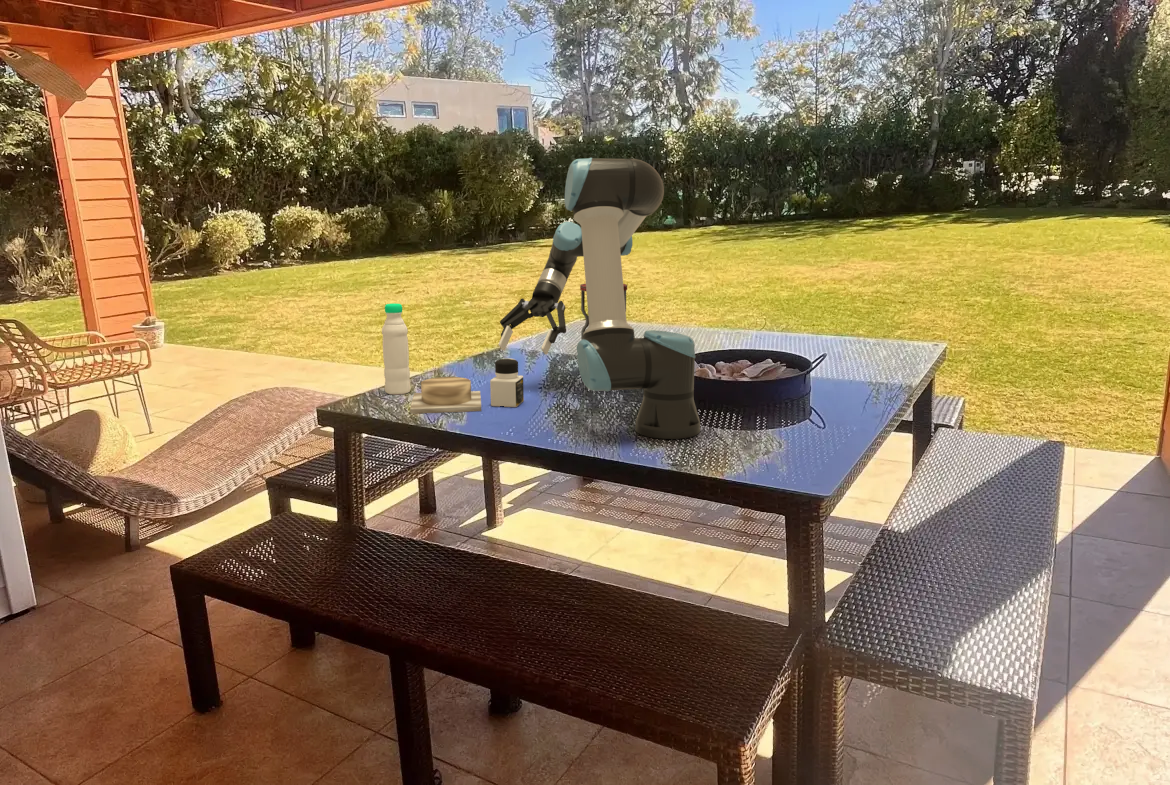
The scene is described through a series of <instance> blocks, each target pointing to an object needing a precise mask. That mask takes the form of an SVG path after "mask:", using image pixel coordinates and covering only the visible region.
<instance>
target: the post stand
mask: <svg viewBox="0 0 1170 785" xmlns="http://www.w3.org/2000/svg"><path fill="white" fill-rule="evenodd" d="M471 381H472V380H470V379H469V378H466V377H458V376H439V377H432V378H428V379H424V380H422V381H421V382H420V387H421V388H420V390H421V391H420V392H414V393H413V396H412V401H411V404H410V406H409V414H412V415H413V414H433V413H434V414H436V413H437V414H440V413H441V414H442V413H465V412H468V413H469V412H482V397H481V390H473V391H472V382H471Z"/></svg>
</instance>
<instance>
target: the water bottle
mask: <svg viewBox="0 0 1170 785" xmlns="http://www.w3.org/2000/svg"><path fill="white" fill-rule="evenodd" d="M384 313H385V316H386V319H385V320H384V324H383V325H382V328H381V335H382V358H383V365H384V368H383V373H384V374H383V377H384V392H385V393H386V394H388V395H392V396H393V395H395V396H396V395H405V394H409V393H410V391H411V389H412V388H411V380H410V378H411V377H410V375H411V372H410V367H409V365H410V362H409V360H410V354H409V352H410V351H409V340H408V332H409V330H408V327H407V325H406V323H405V321H404V319H403V317H402V314H403V305H402V303H397V302H396V303H395V302H394V303H387V304H384Z"/></svg>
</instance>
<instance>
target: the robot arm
mask: <svg viewBox="0 0 1170 785" xmlns="http://www.w3.org/2000/svg"><path fill="white" fill-rule="evenodd" d="M664 195H665V187H664V182H663V180H662V177H661V176H660V174H659V172H658V171H657V170H656V169H655V168H654V167H653V166H652V165H651V164H650V163H647V162H646V161H644V160H641V159H638V158H595V157H594V158H593V157H588V158H577V159H573V161H572V162H570V164H569V167H568V171H567V174H566V181H565V188H564V205H565V209H566V210H567V211H570V212H572V211H573V213H572V214H573V220H574V221H575V222H576V223H574V222H572V221H565V222H562V223H561V224H559V225H558V227H557V228H556V230H555V233H554V234H553V237H552V244H551V248H550V251H549V255H548V258H547V261H546V263H545V266H544V268H543V270H542V272H541V274H540V276H539V279H538V280H537V284H536V285H535V287H534V289H533V292H532V295H531V299H529V300H525V298H524V297H523V298H522V297H521V298H519V301H518V302H517V304H516V305H515V306H514V307H513V308H512V309H511V310H510V311H508V313H507V314H505V315H504V317H502V318H501V320H500V321H499V324H500V325H501V326H502V331H501V333H500V337H501V338H500V340H499V342H498V344H497V345H498V347H499V348H500V349H501V351H505V350H506V348H507V347H508V344H509V341H510V339H511V337H512V336H513V333H514V331H513V329H515V328H516V327H518V326H519V325H521V324H522V323H524V322H525V321H526V320H528V319H532V318H533V317H534V318H535V317H536V318H538V317H540V318H545V317H546V318H547V319H548V321H549V324H550V326H551V328H549V329H548V332H547V334H546V336H545V338H544V341H543V343H542V345H541V348H540V349H541V351H542V352H543V354H544V355H548V354H549V351H550V349H551V346H552V345H553V344H554V343H556V341H557V338H558V336H559V334H561V333H562V334H566V333H567V325H566V318H565V311H566V306H565V303H564V302H563V301H562V300H560V298H561V296H562V293H563V291H564V289H565V287H566V284H567V282H568V280H569V277H570V275H571V272H572V271H573V268H574V266H575V264H576V263H577V260H578V257H580V258H581V257H583V265H584V279H585V284H586V291H585V292H586V302H587V303H586V304H587V315H588V317H589V326H588V327H587V328H586V330H585V332H584V333H583V337H584V339H583V340H579V341H578V343H577V346H576V358H577V365H578V370H579V374H580V378H581V380H582V382H583V384H584V385H585V387H586V388H587V389H589V390H590V391H593V392H594V391H595V392H599V391H600V392H601V391H602V392H610V391H623V390H643V392H642V393H643V394H642V395H643V398H642V401H641V404H640V407H639V409H638V413H637V416H636V419H635V432H636V433H638V434H639V435H642V436H644V437H649V438H654V439H660V440H661V439H662V440H678V439H679V440H680V439H687V438H692V437H695V436H697V435H699V434H700V432H701V421H700V416H699V414H698V409H697V407H696V403H695V400H694V392H695V391H694V390H695V388H694V387H695V367H696V366H695V364H696V362H695V361H696V350H695V340H693V338H692V337H691V336H689V335H687V334H682V333H677V332H671V331H665V330H664V331H663V330H646V331H644V334H643V336H642V337H635V330H634V329H635V328H634V327H632V326H631V325H630V324H629V323H628V322H627V313H626V312H627V309H626V310H625V299H624V287H623V284H624V278H623V277H624V276H623V266H622V256H628V255H629V254H630V253H631V252H632V248H633V235H634V234H635V232H636V231H637V229H638V228H639V227H640V226H641V224H642V223H643V222H644V220H645V218H646V217H647V216H651V215H652V214H654V213H655V212H656V211H657V210H658V208H659V207H660V206H661V205H662V202H663V199H664ZM577 223H578V224H577ZM554 310H556V311H557V320H558V325H557V323H556V321H555V319H554V316H553V315H552V312H553V311H554ZM529 311H530V312H529Z"/></svg>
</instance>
